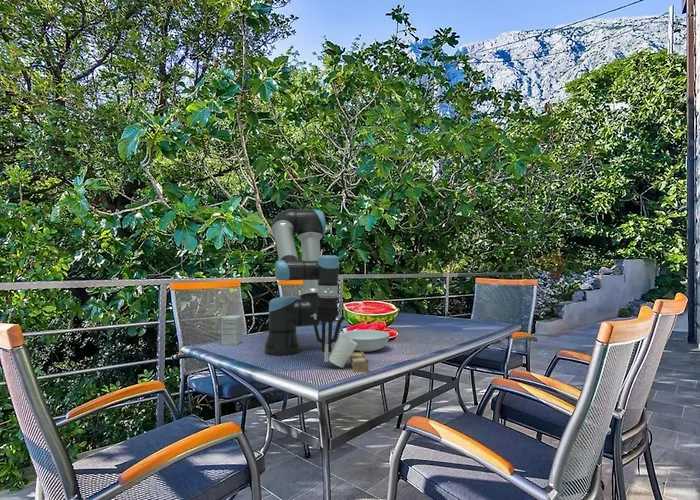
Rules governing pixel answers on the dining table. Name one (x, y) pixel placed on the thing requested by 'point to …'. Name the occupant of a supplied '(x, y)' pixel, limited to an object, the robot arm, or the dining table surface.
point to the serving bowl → (368, 339)
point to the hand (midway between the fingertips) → (326, 361)
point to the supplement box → (231, 330)
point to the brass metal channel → (359, 362)
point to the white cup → (342, 350)
